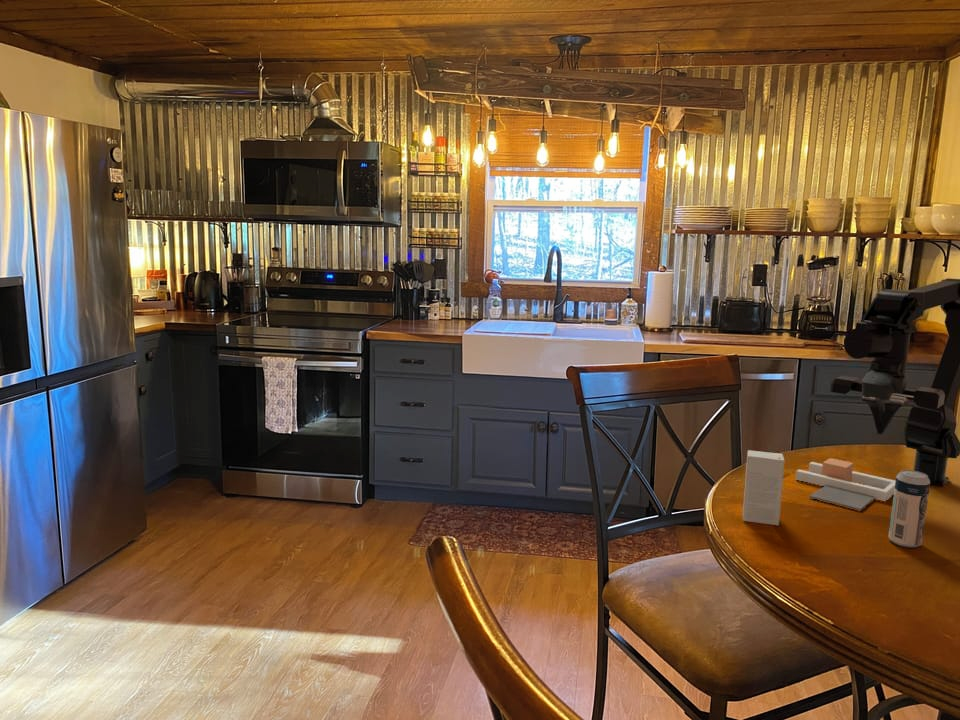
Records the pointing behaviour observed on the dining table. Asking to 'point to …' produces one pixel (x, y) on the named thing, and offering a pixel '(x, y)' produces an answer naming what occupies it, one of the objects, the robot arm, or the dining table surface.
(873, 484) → the channel
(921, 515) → the beer can
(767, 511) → the skincare box
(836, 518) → the dining table surface
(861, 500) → the coaster
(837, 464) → the block
